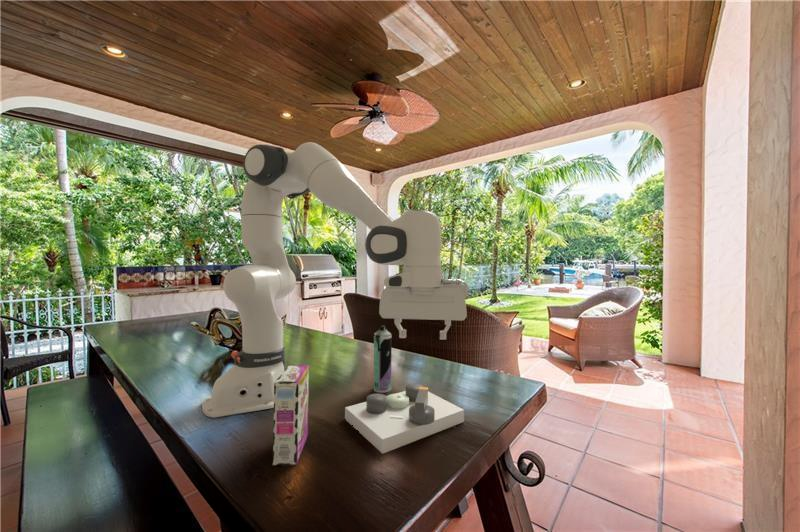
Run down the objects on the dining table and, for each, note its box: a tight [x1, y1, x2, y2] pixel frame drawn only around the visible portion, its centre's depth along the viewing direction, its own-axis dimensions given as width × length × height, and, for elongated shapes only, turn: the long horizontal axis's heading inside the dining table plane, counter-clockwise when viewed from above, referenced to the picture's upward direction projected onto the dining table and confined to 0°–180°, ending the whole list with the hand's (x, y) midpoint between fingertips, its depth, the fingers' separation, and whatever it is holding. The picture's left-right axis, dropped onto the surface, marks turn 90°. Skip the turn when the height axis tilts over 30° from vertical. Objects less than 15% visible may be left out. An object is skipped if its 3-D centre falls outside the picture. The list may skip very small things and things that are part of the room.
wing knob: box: [409, 386, 435, 425], centre depth 76 cm, size 9×6×6 cm, turn 170°
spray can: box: [373, 325, 393, 394], centre depth 101 cm, size 6×6×20 cm
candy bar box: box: [272, 365, 310, 467], centre depth 68 cm, size 11×5×16 cm, turn 5°
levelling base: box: [344, 383, 465, 454], centre depth 81 cm, size 24×18×6 cm
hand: (422, 338), depth 75 cm, fingers open, 8 cm apart
